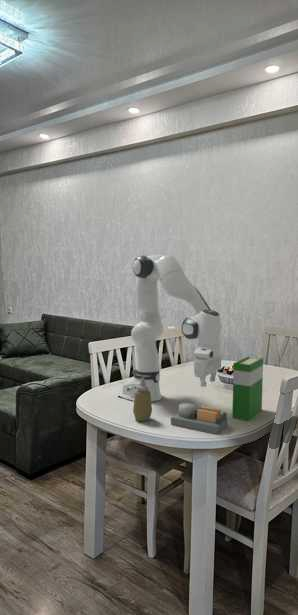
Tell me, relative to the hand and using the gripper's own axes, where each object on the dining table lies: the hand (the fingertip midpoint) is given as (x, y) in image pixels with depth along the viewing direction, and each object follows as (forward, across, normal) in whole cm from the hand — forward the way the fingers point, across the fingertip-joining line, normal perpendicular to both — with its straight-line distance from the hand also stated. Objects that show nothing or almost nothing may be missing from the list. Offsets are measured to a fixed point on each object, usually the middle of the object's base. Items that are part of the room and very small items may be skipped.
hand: (208, 383), depth 164 cm
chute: (+14, +1, +1) cm, 14 cm away
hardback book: (+17, -23, +10) cm, 31 cm away
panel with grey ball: (+17, +1, -3) cm, 18 cm away
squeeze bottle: (+18, +8, -26) cm, 32 cm away
